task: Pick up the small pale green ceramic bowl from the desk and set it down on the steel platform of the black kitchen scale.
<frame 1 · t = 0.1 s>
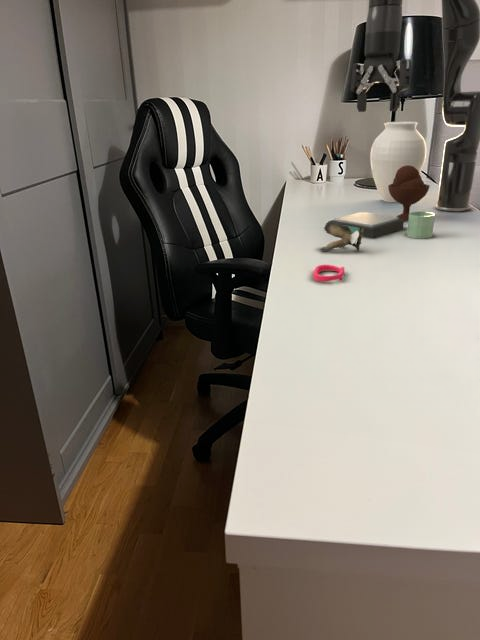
hand: (377, 111, 116), 29 cm above the table, tool pointing down, fingers open, 8 cm apart
scale: (365, 229, 134), on the table
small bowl: (419, 235, 126), on the table
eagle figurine: (341, 251, 116), on the table
fitness band: (328, 277, 98), on the table
ice cream bowl: (405, 219, 144), on the table
vase: (393, 200, 172), on the table
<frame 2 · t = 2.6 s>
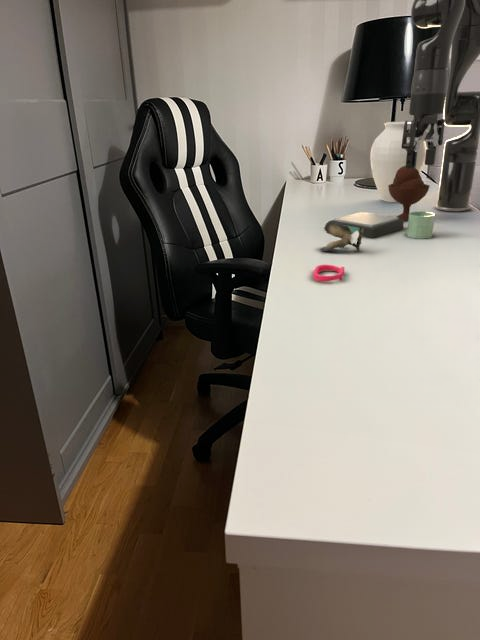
hand: (420, 166, 120), 17 cm above the table, tool pointing down, fingers open, 8 cm apart
nothing on the table moved.
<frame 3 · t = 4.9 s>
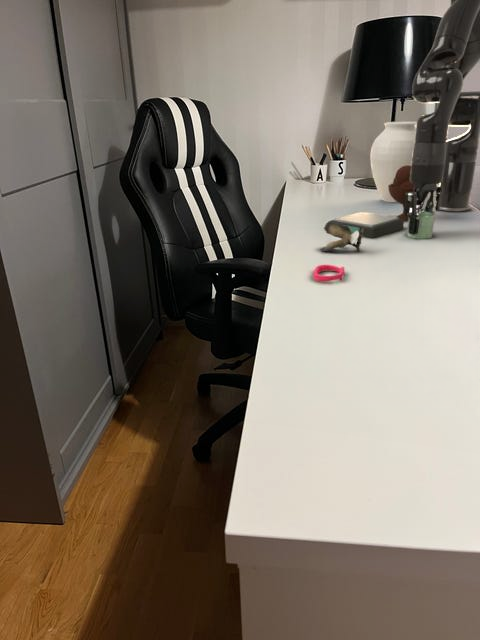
hand: (420, 231, 125), 1 cm above the table, tool pointing down, fingers closed on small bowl, 6 cm apart
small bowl: (419, 235, 126), on the table, touching gripper
everything else where it was.
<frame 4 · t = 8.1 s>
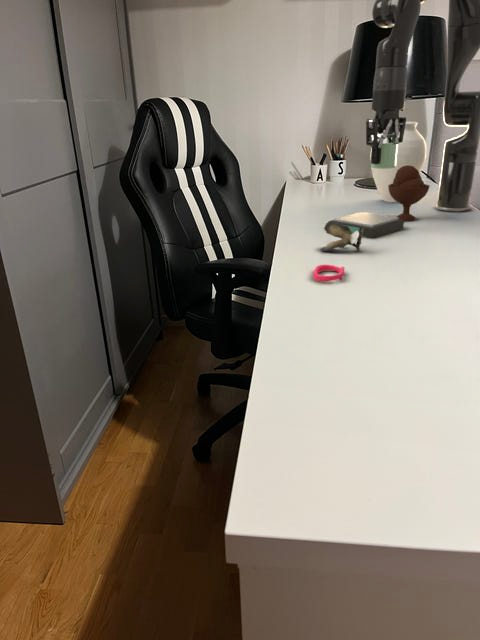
hand: (383, 162, 125), 17 cm above the table, tool pointing down, fingers closed on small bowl, 6 cm apart
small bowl: (382, 167, 126), point 16 cm above the table, touching gripper
everything else where it was.
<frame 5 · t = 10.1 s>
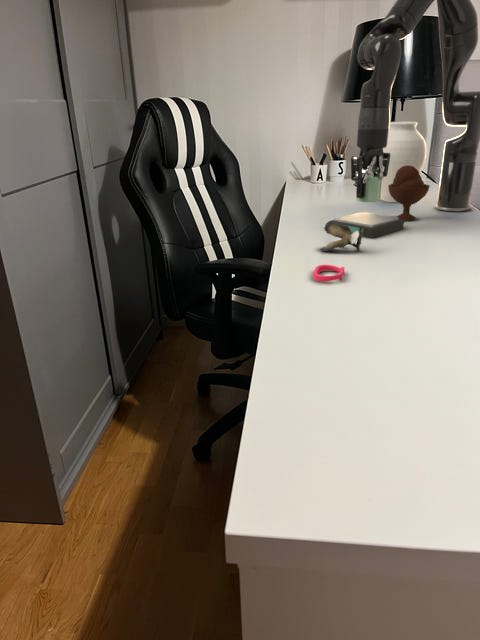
hand: (368, 195, 130), 9 cm above the table, tool pointing down, fingers closed on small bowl, 6 cm apart
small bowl: (367, 200, 131), point 8 cm above the table, touching gripper
everything else where it was.
when the fingers open (4 cm above the table, at t = 11.8 s): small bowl stays where it is, resting on scale.
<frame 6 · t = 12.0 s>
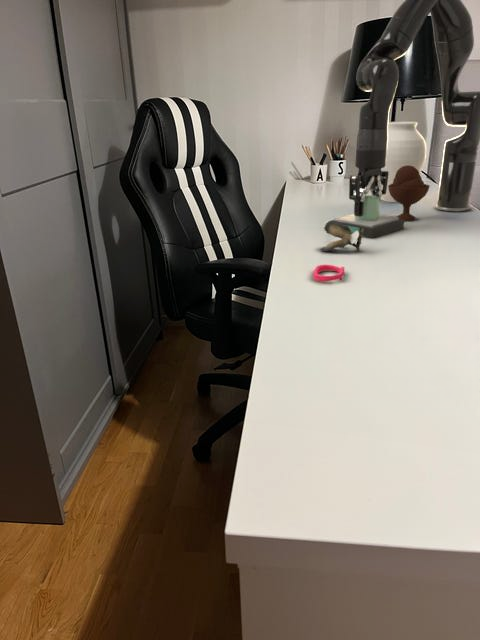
hand: (366, 213, 132), 4 cm above the table, tool pointing down, fingers open, 6 cm apart
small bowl: (366, 218, 133), point 3 cm above the table, touching scale
everything else where it was.
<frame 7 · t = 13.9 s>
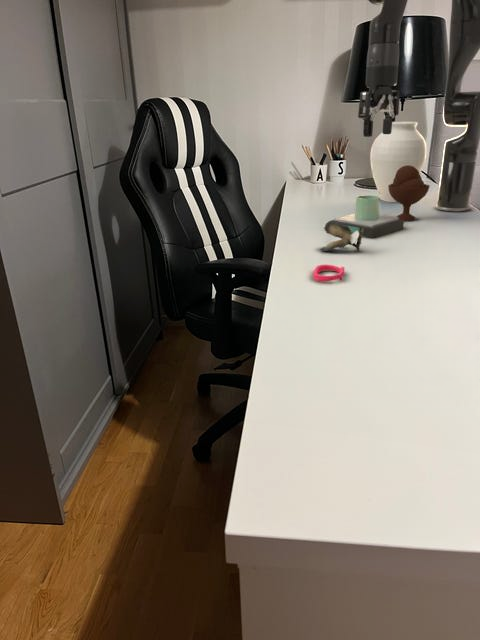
hand: (377, 135, 129), 23 cm above the table, tool pointing down, fingers open, 8 cm apart
nothing on the table moved.
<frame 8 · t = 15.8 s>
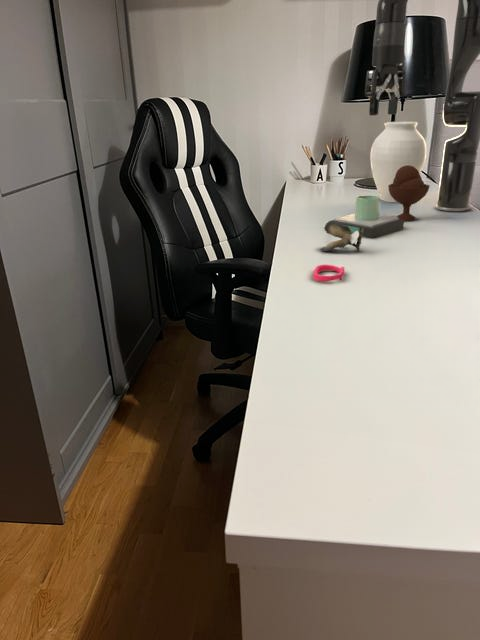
hand: (383, 114, 131), 28 cm above the table, tool pointing down, fingers open, 8 cm apart
nothing on the table moved.
at the end: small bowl inside the target area on the scale (0.1 cm from its centre), point 3.0 cm above the scale's base; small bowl tilted 0°; the gripper is holding nothing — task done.
